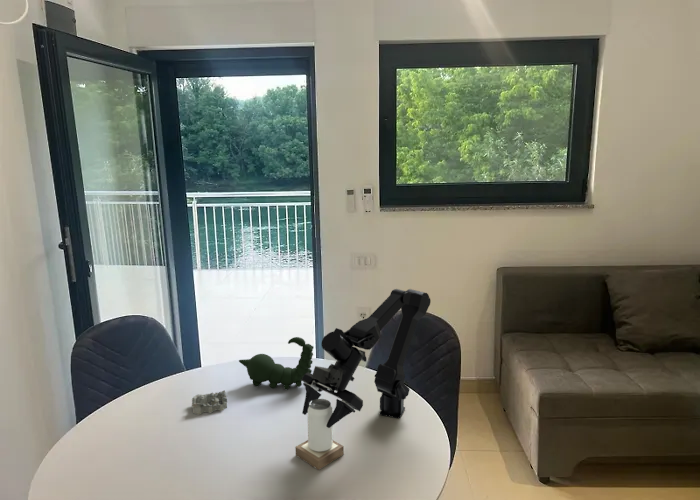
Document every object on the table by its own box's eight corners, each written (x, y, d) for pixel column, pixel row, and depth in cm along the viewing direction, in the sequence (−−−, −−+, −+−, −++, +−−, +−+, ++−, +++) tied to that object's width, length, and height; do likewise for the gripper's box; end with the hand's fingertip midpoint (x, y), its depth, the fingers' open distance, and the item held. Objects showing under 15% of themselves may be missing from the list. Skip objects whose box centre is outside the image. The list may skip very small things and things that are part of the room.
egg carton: (192, 416, 154) (191, 404, 154) (192, 404, 161) (191, 393, 161) (228, 411, 157) (227, 399, 156) (226, 399, 164) (226, 388, 164)
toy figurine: (311, 384, 178) (241, 376, 179) (315, 333, 174) (243, 326, 175) (307, 397, 169) (233, 389, 170) (312, 344, 165) (236, 336, 166)
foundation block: (320, 441, 141) (320, 432, 140) (343, 454, 135) (343, 445, 134) (295, 455, 135) (295, 446, 134) (318, 469, 129) (318, 460, 128)
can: (334, 451, 132) (334, 408, 129) (309, 454, 130) (309, 411, 128) (330, 437, 138) (330, 396, 136) (306, 440, 137) (306, 399, 134)
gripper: (305, 344, 138) (274, 396, 133) (355, 364, 126) (323, 422, 120) (326, 362, 145) (298, 412, 140) (376, 383, 133) (346, 438, 127)
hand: (315, 420), depth 132 cm, fingers open, 9 cm apart
